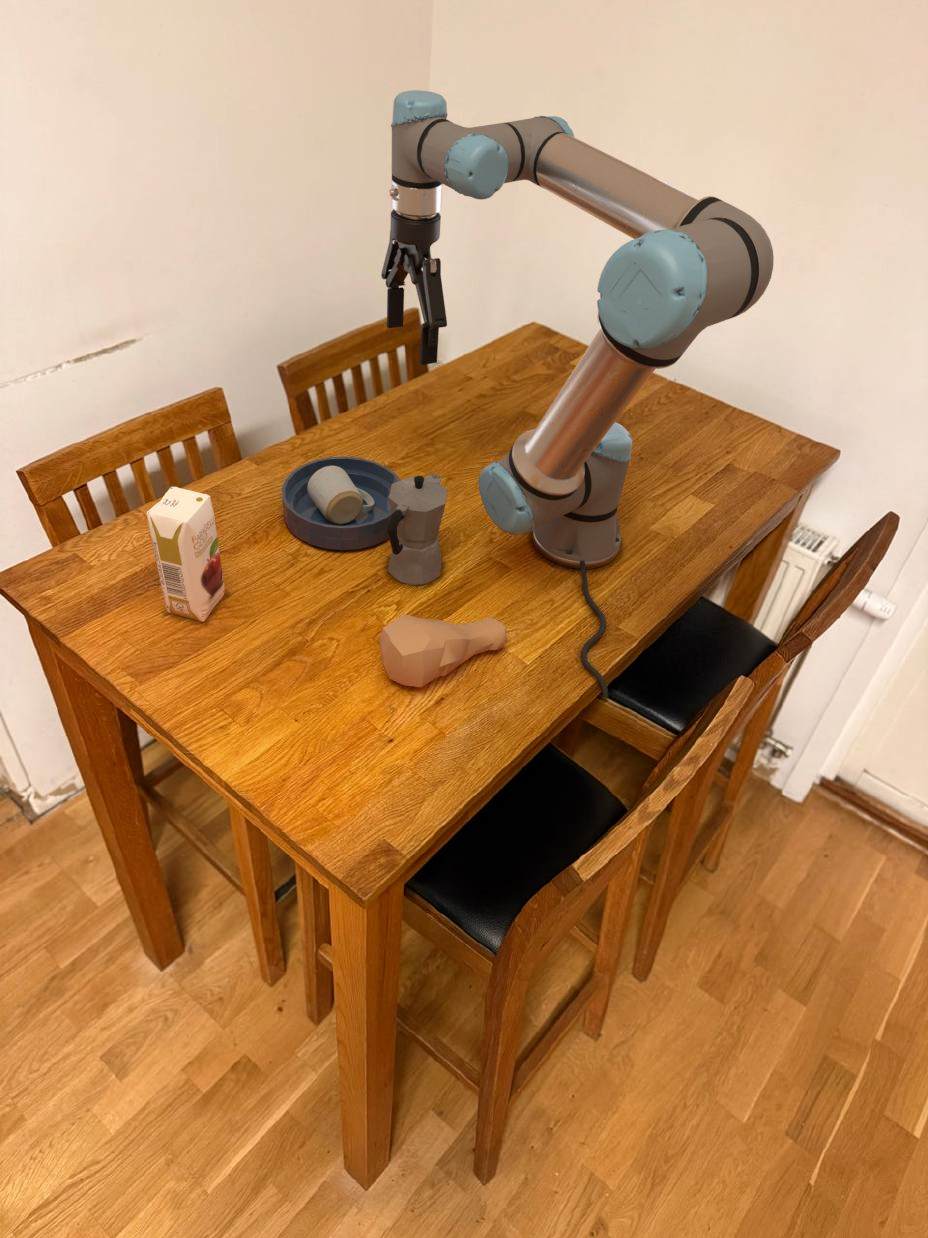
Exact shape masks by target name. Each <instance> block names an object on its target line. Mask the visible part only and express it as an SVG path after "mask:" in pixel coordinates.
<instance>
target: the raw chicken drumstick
mask: <svg viewBox="0 0 928 1238" xmlns="http://www.w3.org/2000/svg"><path fill="white" fill-rule="evenodd" d="M378 639H379V640H378V646H379V650H380V656H381V662H382V664H383V667H384V670H385V671H386V674H387V677H388V679H389V680H392V681H394V682H395V683H398V684H400V685H402V686H407V687H415V688H423V687H424V686H426V685H427V684H429V683H430V682H432V681H434V680H435V679H437V678H438V677H444V676H447V675H448V674H449V673H451V672H452V671H453V670H455V669H456V668H457V667H459V666H460V665H461V664H463V663H464V662H465V661H468V660H469V659H470V658H471V657H473V656H474V655H478V654H481V653H484V652H487V651H496V650H497V651H498V650H499V649H502V648H503V646H504V645H505V643H506V641H507V627H506V626H505V625H504V624H503V623H501V622H500V621H499V620H497V619H495V618H494V617H490V616H489V617H485V618H483V619H482V618H481V619H479V620H476V621H473V622H472V621H471V622H468V623H463V624H459V623H452V622H449V621H448V620H441V619H434V618H423V617H417V616H413V615H409V614H404V613H402V614H401V615H400V616H398V617H397V618H396V619H395V620H393V621H391V622H390V623H388V624H387V625H385V626H383V627H382V629H381V632H380V636H379V638H378Z"/></svg>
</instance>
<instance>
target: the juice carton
mask: <svg viewBox="0 0 928 1238" xmlns="http://www.w3.org/2000/svg"><path fill="white" fill-rule="evenodd" d="M146 519H147V525H148V530H149V534H150V539H151V543H152V548H153V553H154V558H155V564H156V566H157V567H156V568H157V573H158V576H159V581H160V587H161V591H162V596H163V600H164V604H165V608H166V611H167V613H169V614H172V615H176V616H179V617H183V618H185V619H186V618H187V619H190V620H194V621H197V622H202V623H204V622H205V621H206V620H207V618H208V617H209V616H210V614H211V613H212V611H213V610H214V608H215V607H216V606H217V604H218V603H219V602H220V601H221V600H222V599H223V597H224V596H225V580H224V574H223V573H224V572H223V566H222V560H221V553H220V546H219V540H218V539H219V538H218V531H217V526H216V525H217V523H216V519H215V512H214V508H213V503H212V499H211V495H209V494H207V493H201V492H197V491H194V490H190V489H186V488H180V487H178V486H170V487H169V488H168V490H167V491H166V492H165V494H164V495H163V497H162V498H161V499H160V500H159V501H158V502H157V503H156V504H154V505H153V506H152V507H150V509H149V510H147V511H146Z"/></svg>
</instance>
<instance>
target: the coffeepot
mask: <svg viewBox="0 0 928 1238" xmlns="http://www.w3.org/2000/svg"><path fill="white" fill-rule="evenodd" d="M441 482H442V476H440V475H439V476H438V475H437V474H433V473H432V474H428V475H426V476H422V475H415V476H408V477H405V478H403V479H400V481H398V482H396V483H393V484H392V486H391V490H390V494H389V501H390V508H391V516H390V518H389V521H388V523H387V533H388V536H389V538H388V540H389V543H390V546H391V552H390V557H389V562H388V567H387V572H388V573H389V574H390V576H392V577H393V578H394V579H395V580H396V581H398V582H399V583H402V584H405V585H410V586H423V585H427V584H430V583H432V582H433V581H435V580H436V579H438V578H439V577H440V576H441V570H442V563H443V561H442V556H441V555H442V554H441V547H440V546H441V545H440V540H439V531H440V527H441V524H442V520H443V515H444V512H445V507H446V504H447V498H448V489H447V488H446V487H445V486H443V485H442V484H441Z"/></svg>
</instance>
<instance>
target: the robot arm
mask: <svg viewBox="0 0 928 1238" xmlns="http://www.w3.org/2000/svg"><path fill="white" fill-rule="evenodd" d="M447 104H448V103H447V101H446V99H445V98H444V96H443V95H442V94H439V93H437V92H433V91H428V90H421V89H420V90H419V89H416V90H415V89H413V90H405V91H402V92H399V93H398V94H397V95H396V96H395V97H394V99H393V106H392V120H391V121H392V122H391V124H390V127H391V189H389V191H388V195H389V197H390V202H391V203H390V204H391V205H390V206H391V208H392V210H391V212H390V228H389V229H390V230H389V240H388V241H389V242H388V245H387V250H386V254H385V257H384V262H383V266H382V269H381V275H380V277H381V279H382V280H385V287H386V288H387V290H386V291H387V293H386V294H387V295H386V297H387V298H386V300H387V301H386V305H387V306H386V327H387V329H395V328H402V327H404V316H405V314H404V311H405V308H404V307H405V288H404V287H403V286H406V282H405V280H406V278H407V276H408V275H409V277H410V283H412V285H414V286H415V289H416V294H417V298H418V303H419V307H420V311H421V315H422V319H423V322H422V323H421V324H420V325H419V326H420V347H419V348H420V349H419V364H420V366H425V365H431V364H436V363H438V351H439V350H438V349H439V333H440V328H446V327H448V320H447V313H446V312H447V311H446V304H445V297H444V290H443V282H442V281H443V280H442V275H441V274H442V261H441V258H439V257H436V258H435V257H434V258H433V257H432V254H431V253H432V252H431V247H432V246H433V244H434V243H436V242H437V241H438V240H439V239H440V237H441V223H442V222H441V219H442V216H441V213H440V212H441V211H442V206H443V190H444V189H443V188H444V186H446V187H447V188H450V189H451V190H453V191H455V192H456V193H458V194H459V195H463V196H464V197H468V198H469V197H470V198H472V199H474V200H481V201H482V200H487V199H490V198H491V197H493V196H494V194H496V193H497V192H498V191H500V190H501V188H502V187H503V185H504V184H508V183H515V182H519V181H529V182H530V183H532V184H534V185H536V186H538V187H540V188H541V189H544V190H546V191H548V192H549V193H551V194H553V195H554V196H557V197H558V198H560V199H562V200H564V201H566V202H567V203H569V204H571V205H572V206H575V207H576V208H578V209H580V210H581V211H584V212H585V213H587V214H589V215H591V216H592V217H593V218H596V219H598V220H599V221H601V222H603V223H604V224H606V225H608V226H610V227H612V228H613V229H616V230H617V231H619V232H621V233H623V234H625V236H628V237H629V238H632V240H630V241H627V242H625V243H624V244H622V245H621V246H619V247H618V248H617V249H616V250H615V251H614V252H613V253H612V255H610V257H609V258H608V259H607V261H606V263H605V265H604V266H603V268H602V271H601V273H600V276H599V279H598V283H597V290H596V291H597V293H599V296H600V297H599V298H598V299H597V300H596V305H597V315H596V316H597V324H598V327H599V330H598V332H596V334H595V336H594V337H593V339H592V341H591V342H590V344H589V345H588V347H587V348H586V350H585V351H584V353H583V355H582V356H581V358H580V359H579V360H578V362H577V363H576V365H575V367H574V368H573V370H572V372H571V373H570V375H569V376H568V378H567V379H566V381H565V382H564V383H563V385H562V387H561V389H560V390H559V392H558V393H557V395H556V396H555V398H554V399H553V401H552V402H551V404H550V405H549V407H548V409H547V410H546V412H545V413H544V414H543V417H542V418H541V420H540V421H539V423H538V424H537V426H536V427H535V428H532V429H529V430H526V431H524V432H523V433H521V434H520V435H519V436H518V437H517V438H516V439H515V441H514V442H513V444H512V446H511V447H510V449H509V450H508V452H507V454H506V455H505V456H504V457H503V458H502V459H500V460H497V461H492V462H490V463H489V464H488V465H486V466H485V467H483V468H482V470H481V471H480V474H479V477H478V491H479V495H480V499H481V502H482V506H483V507H484V510H485V512H486V513H487V515H488V517H489V518H490V520H491V521H492V522H493V524H494V525H495V526H496V527H497V528H499V529H500V531H502V532H504V533H506V534H508V535H511V536H520V535H523V534H525V533H532V534H531V535H532V536H531V537H532V543H533V545H534V547H535V549H536V550H537V551H538V553H540V554H541V555H542V556H543V557H544V558H545V559H547V560H549V561H550V562H552V563H554V564H556V565H559V566H562V567H565V568H568V569H569V568H570V569H577V570H580V575H581V586H582V592H583V596H584V598H585V600H586V602H587V603H588V605H589V607H590V608H591V609H592V610H593V611H594V613H595V614H596V615H597V617H598V619H599V624H600V625H599V629H598V631H597V632H596V633H595V634H594V635H593V636H592V637H591V638H590V639H588V640H587V641H586V642H585V644H584V645H583V647H582V648H581V651H580V660H581V663H582V665H583V666H584V668H585V670H587V671H588V672H589V673H590V674H591V675H593V677H594V678H595V679H596V680H597V681H598V683H599V685H600V688H601V694H602V697H603V698H605V699H607V698H609V689H608V685H607V681H606V680H605V678H604V676H603V675H602V674H601V673H600V672H599V671H598V670H597V669H596V668H595V667H594V666H593V665H592V664H591V663H590V662H589V661H588V657H587V656H588V651H589V649H590V648H591V647H592V646H593V645H595V643H597V641H599V640H600V639H601V637H602V636H603V635H604V634H605V632H606V628H607V621H606V618H605V615H604V613H603V612H602V610H601V608H600V607H599V606H598V605H597V603H596V602H595V601H594V599H593V598H592V596H591V594H590V592H589V583H588V575H587V570H591V569H597V568H601V567H603V566H606V565H608V564H609V563H611V562H613V560H615V558H616V557H617V556H618V553H619V551H620V547H621V542H622V535H621V528H620V522H619V513H618V509H619V505H620V501H621V497H622V493H623V489H624V485H625V481H626V477H627V472H628V470H629V469H628V467H629V464H630V462H631V461H632V455H631V454H632V449H633V438H632V435H631V433H629V431H628V430H627V429H626V428H625V427H624V426H623V425H621V424H620V423H618V422H617V421H618V420H619V418H620V416H621V415H622V414H623V413H624V412H625V410H626V409H627V408H628V406H629V405H630V404H631V402H632V401H633V400H634V398H635V397H636V396H637V394H638V393H639V392H640V390H641V389H642V388H643V386H644V385H645V384H646V382H647V381H648V380H649V378H650V377H651V376H652V375H653V373H654V372H655V371H656V370H659V369H660V370H662V369H666V368H670V367H671V366H673V365H675V364H676V363H677V362H678V361H679V360H680V359H681V357H682V356H683V355H684V354H685V352H686V351H687V350H688V348H689V347H690V346H691V345H692V343H693V342H694V341H695V339H697V337H698V336H699V335H700V333H701V332H703V330H705V329H707V328H708V327H712V326H714V325H716V324H720V323H722V322H725V321H728V320H730V319H733V318H736V317H739V316H740V315H742V314H744V313H747V311H749V310H750V309H751V308H752V307H753V306H754V305H756V304H757V303H758V301H759V300H760V299H761V298H762V296H763V295H764V294H765V292H766V290H767V288H768V286H769V284H770V282H771V279H772V275H773V272H774V271H773V270H774V257H775V256H774V249H773V245H772V242H771V239H770V237H769V236H768V233H767V232H766V230H765V228H764V227H763V226H762V224H761V223H759V221H757V220H756V218H754V217H753V216H751V215H750V214H748V213H747V212H745V211H744V210H742V209H740V208H738V207H736V206H735V205H733V204H730V203H729V202H727V201H724V200H722V199H720V198H719V197H716V196H713V195H708V196H703V197H702V198H700V199H699V198H697V197H695V196H693V195H691V194H689V193H687V192H685V191H683V190H681V189H679V188H678V187H675V186H673V185H671V184H669V183H666V182H665V181H663V180H660V179H659V178H657V177H654V176H653V175H651V174H649V173H647V172H644V171H643V170H640V169H639V168H636V167H635V166H633V165H630V164H629V163H626V162H625V161H622V160H621V159H618V158H617V157H615V156H612V155H610V154H608V153H606V152H605V151H603V150H600V149H598V148H597V147H595V146H592V145H590V144H588V143H586V142H585V141H582V140H580V139H578V138H576V137H575V134H574V131H573V129H572V128H571V127H570V126H569V123H568V122H567V121H566V120H565V118H562V117H560V116H556V115H553V116H552V115H550V116H547V115H538V116H533V117H530V118H523V119H518V120H512V121H507V122H498V123H492V124H485V125H479V126H471V127H468V126H467V127H466V126H462V125H460V124H457V123H454V122H452V120H451V121H450V120H449V119H447V118H448V107H447Z"/></svg>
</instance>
